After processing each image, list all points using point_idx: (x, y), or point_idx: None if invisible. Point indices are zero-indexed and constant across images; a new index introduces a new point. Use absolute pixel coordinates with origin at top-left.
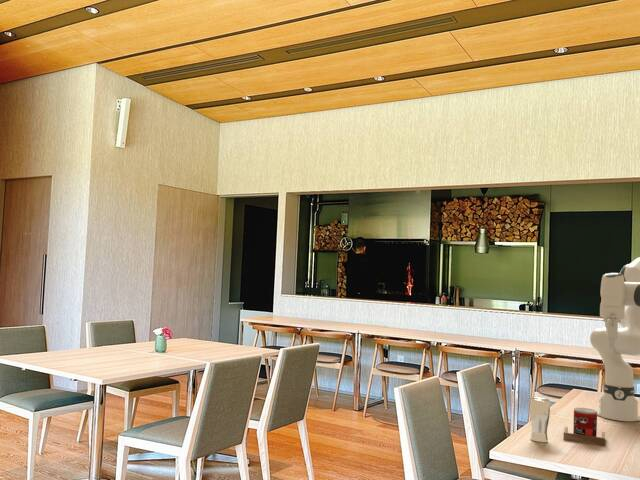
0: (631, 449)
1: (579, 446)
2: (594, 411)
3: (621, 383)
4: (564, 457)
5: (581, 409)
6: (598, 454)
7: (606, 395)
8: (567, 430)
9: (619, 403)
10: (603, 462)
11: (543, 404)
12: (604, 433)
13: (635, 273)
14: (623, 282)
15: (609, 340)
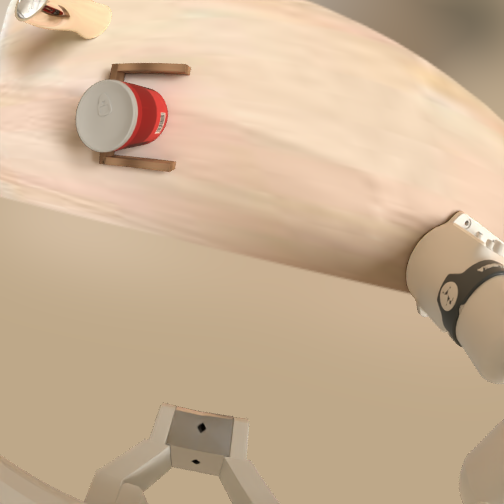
0: (108, 217)
1: None
2: (104, 144)
3: (465, 322)
4: (11, 87)
5: (122, 103)
6: (43, 143)
7: (473, 259)
8: (175, 72)
9: (436, 282)
10: (10, 151)
11: (20, 14)
12: (152, 168)
13: None
14: None
15: (104, 470)
